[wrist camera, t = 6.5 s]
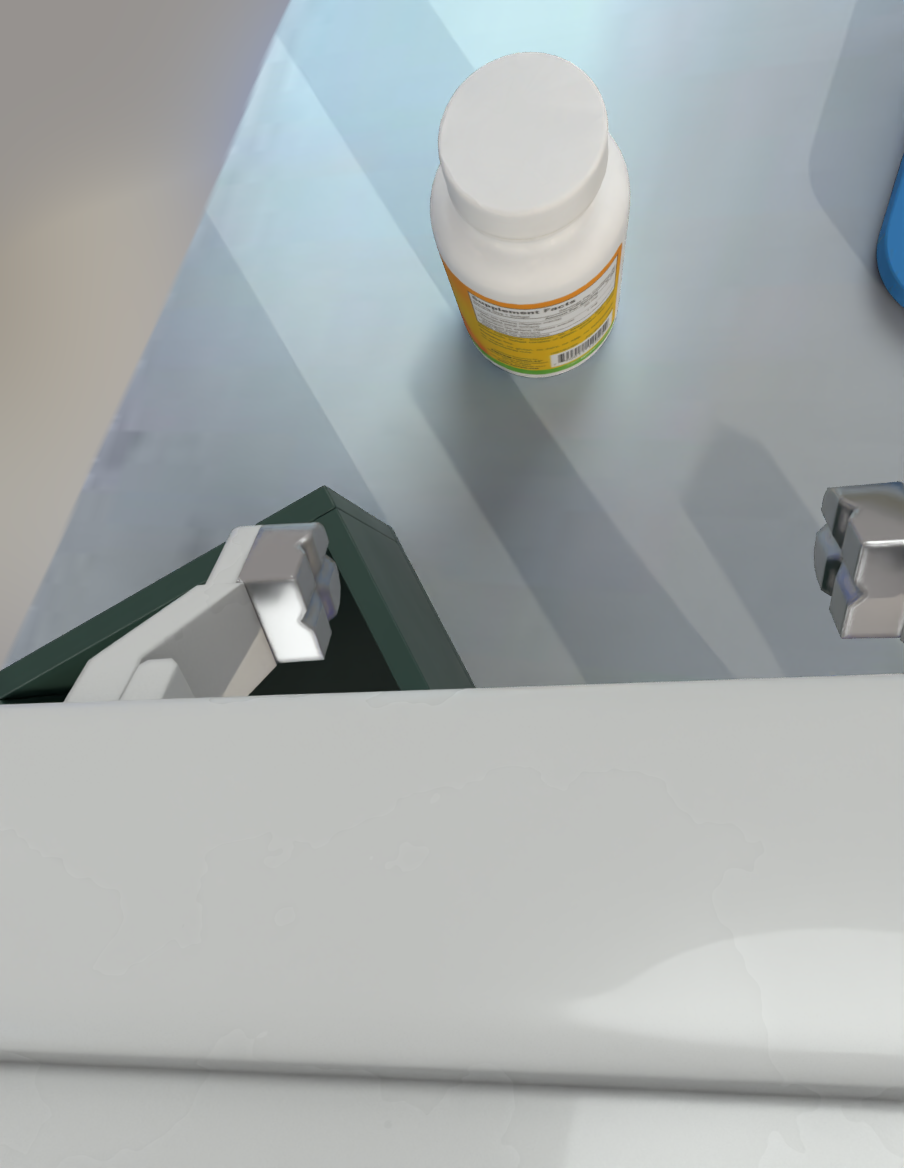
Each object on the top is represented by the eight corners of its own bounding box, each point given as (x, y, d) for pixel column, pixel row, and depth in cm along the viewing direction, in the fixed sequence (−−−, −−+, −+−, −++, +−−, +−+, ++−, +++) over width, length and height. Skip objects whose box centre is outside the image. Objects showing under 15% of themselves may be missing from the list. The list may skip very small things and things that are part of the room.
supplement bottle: (484, 222, 29) (437, 8, 19) (634, 245, 28) (663, 33, 18) (448, 366, 28) (382, 223, 19) (598, 394, 27) (609, 260, 18)
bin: (575, 877, 26) (574, 969, 19) (281, 1023, 27) (170, 1165, 20) (391, 526, 28) (324, 484, 21) (124, 677, 29) (-31, 688, 22)
